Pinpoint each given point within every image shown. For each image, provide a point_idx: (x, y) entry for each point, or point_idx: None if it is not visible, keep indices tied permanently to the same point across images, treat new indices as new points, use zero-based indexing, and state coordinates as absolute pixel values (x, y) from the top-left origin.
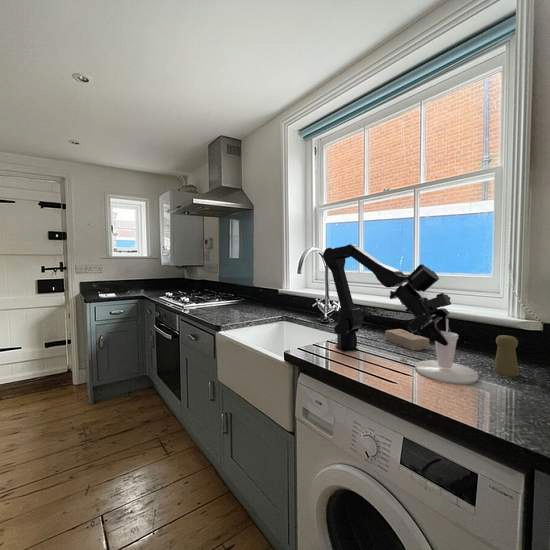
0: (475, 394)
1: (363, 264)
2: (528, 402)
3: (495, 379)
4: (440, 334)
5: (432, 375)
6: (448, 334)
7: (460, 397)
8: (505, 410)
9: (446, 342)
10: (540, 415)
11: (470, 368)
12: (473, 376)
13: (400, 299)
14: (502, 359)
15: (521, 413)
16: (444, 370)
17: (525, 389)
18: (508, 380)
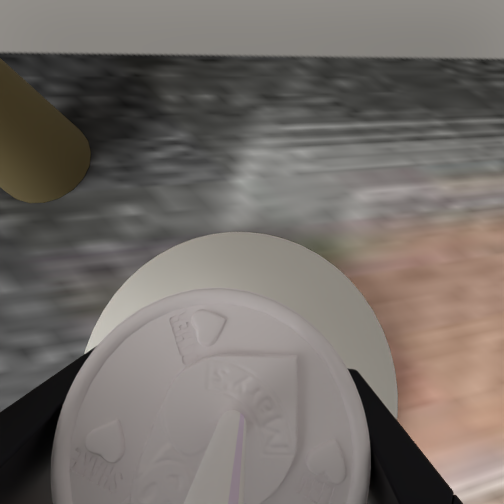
0: (420, 225)
1: None
2: (354, 90)
3: (174, 184)
4: (444, 481)
5: (395, 416)
6: (281, 392)
7: (501, 264)
8: (486, 137)
9: (364, 383)
10: (438, 66)
11: (134, 275)
12: (259, 246)
13: None
14: (35, 127)
15: (469, 103)
16: None
17: (224, 99)
18: (153, 146)
